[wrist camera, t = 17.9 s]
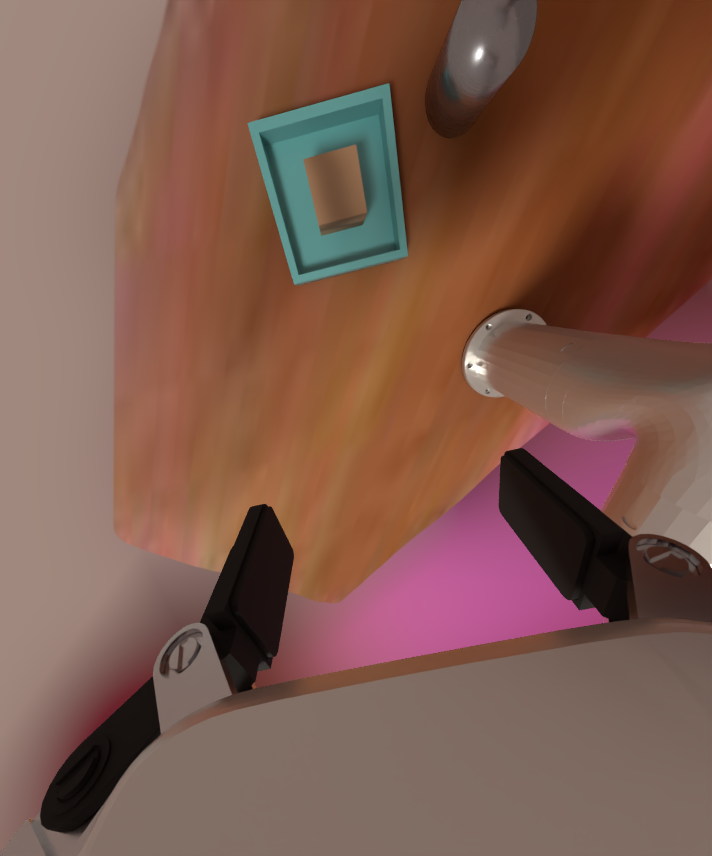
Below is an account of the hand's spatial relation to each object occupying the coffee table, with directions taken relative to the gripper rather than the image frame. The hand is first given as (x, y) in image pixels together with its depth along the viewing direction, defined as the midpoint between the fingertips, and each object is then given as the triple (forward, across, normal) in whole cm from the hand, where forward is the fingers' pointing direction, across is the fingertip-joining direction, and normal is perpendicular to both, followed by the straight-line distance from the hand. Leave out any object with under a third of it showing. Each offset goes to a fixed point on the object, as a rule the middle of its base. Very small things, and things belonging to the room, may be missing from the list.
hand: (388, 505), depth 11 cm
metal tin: (+30, -16, -23) cm, 41 cm away
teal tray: (+30, -2, -17) cm, 35 cm away
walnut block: (+30, -2, -17) cm, 34 cm away
